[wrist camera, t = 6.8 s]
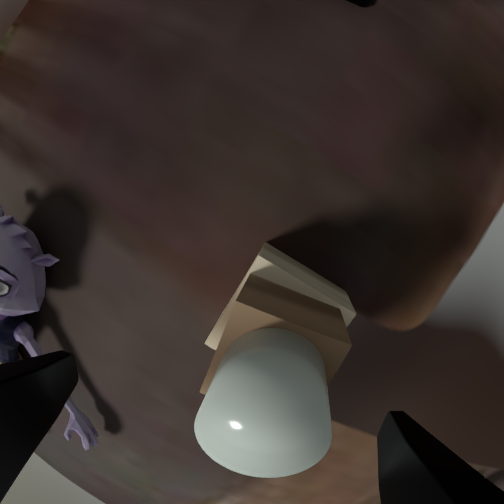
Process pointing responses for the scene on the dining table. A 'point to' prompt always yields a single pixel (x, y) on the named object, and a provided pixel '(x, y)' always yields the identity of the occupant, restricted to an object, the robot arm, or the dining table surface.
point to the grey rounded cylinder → (267, 406)
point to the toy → (28, 306)
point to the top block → (284, 322)
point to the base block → (287, 286)
